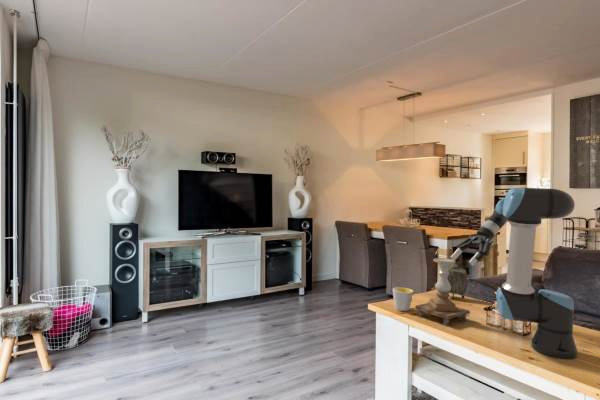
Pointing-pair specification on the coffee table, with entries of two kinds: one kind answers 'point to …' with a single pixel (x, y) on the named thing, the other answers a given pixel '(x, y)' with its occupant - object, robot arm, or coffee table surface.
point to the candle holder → (443, 288)
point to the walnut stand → (442, 313)
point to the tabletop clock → (457, 279)
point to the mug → (402, 298)
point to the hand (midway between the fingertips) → (461, 261)
